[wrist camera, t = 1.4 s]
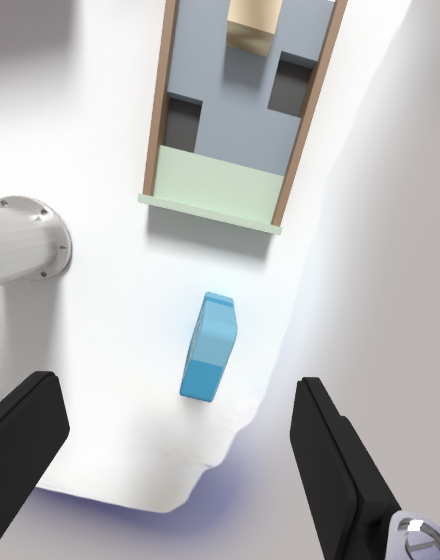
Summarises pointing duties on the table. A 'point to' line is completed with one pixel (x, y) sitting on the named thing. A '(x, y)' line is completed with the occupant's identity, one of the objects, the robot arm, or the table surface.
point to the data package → (209, 347)
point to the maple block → (252, 25)
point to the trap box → (234, 111)
